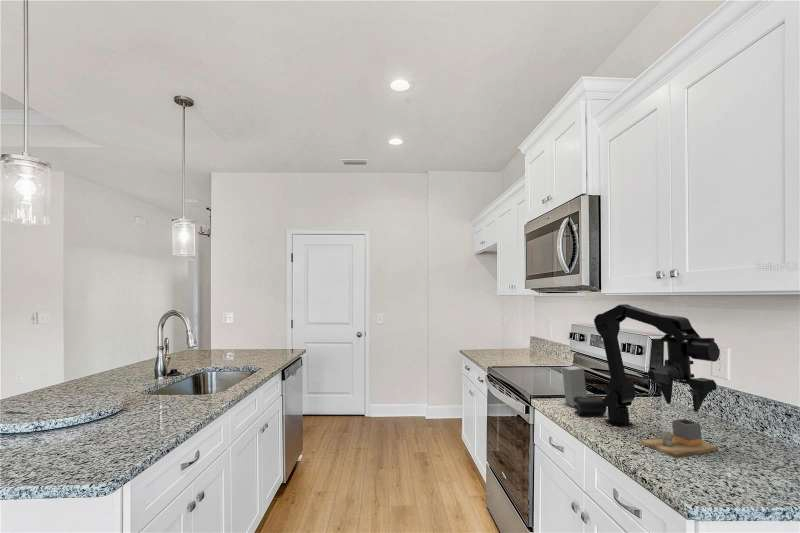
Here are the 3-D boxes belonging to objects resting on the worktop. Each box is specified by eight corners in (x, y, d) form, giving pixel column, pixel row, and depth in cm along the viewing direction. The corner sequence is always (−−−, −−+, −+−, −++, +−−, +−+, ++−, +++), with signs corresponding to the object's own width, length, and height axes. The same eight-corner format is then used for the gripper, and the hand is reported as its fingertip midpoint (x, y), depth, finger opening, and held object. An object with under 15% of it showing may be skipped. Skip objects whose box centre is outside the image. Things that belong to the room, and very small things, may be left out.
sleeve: (686, 438, 128) (684, 418, 128) (701, 443, 123) (700, 423, 123) (673, 440, 126) (672, 420, 127) (689, 445, 121) (687, 425, 122)
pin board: (640, 443, 127) (639, 428, 127) (679, 437, 131) (678, 423, 132) (675, 457, 115) (674, 441, 116) (717, 450, 120) (716, 435, 120)
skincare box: (588, 407, 167) (586, 368, 168) (571, 408, 167) (569, 369, 168) (580, 402, 175) (577, 365, 176) (563, 402, 175) (561, 365, 177)
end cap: (580, 418, 154) (579, 399, 155) (573, 412, 161) (572, 395, 162) (607, 417, 154) (606, 399, 154) (598, 412, 161) (597, 394, 161)
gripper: (633, 354, 135) (636, 402, 134) (686, 363, 117) (690, 419, 116) (660, 352, 138) (663, 399, 137) (716, 361, 120) (719, 415, 119)
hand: (682, 407), depth 127 cm, fingers open, 9 cm apart
